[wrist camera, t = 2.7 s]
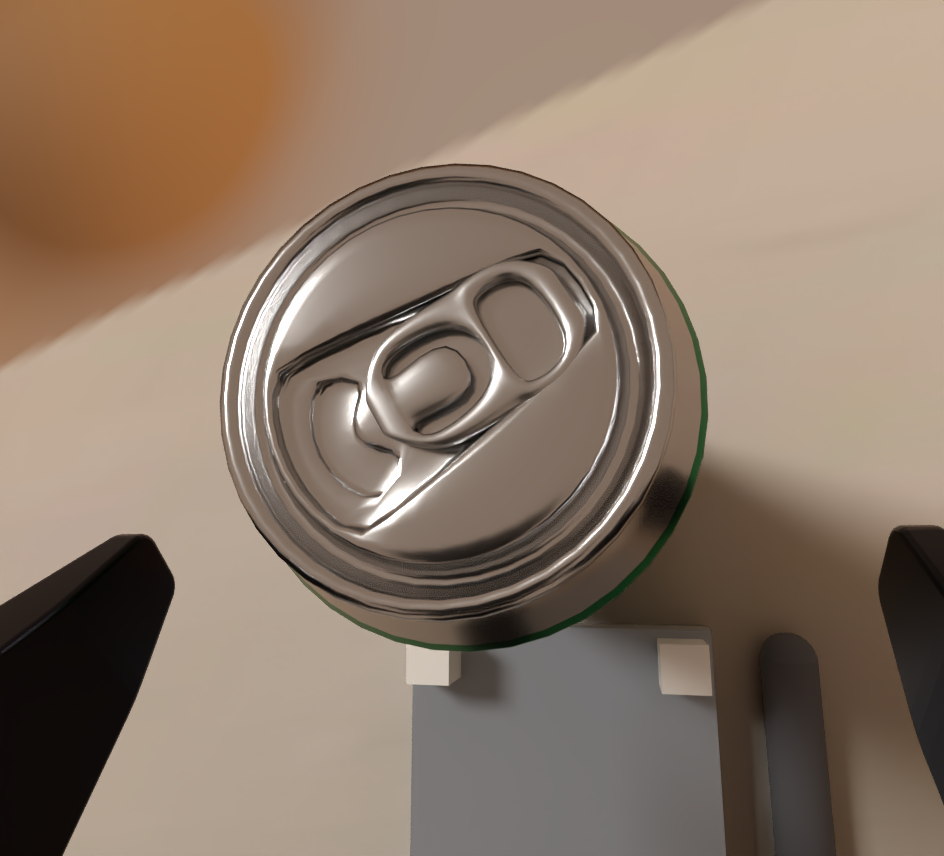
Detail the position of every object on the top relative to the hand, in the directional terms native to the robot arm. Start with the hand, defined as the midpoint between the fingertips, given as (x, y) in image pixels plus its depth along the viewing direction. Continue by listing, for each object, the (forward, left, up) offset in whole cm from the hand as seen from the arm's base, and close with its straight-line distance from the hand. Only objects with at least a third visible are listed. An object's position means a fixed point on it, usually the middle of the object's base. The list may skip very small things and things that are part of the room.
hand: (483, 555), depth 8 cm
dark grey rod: (-7, +1, -10) cm, 12 cm away
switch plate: (-3, +4, -9) cm, 11 cm away
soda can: (+1, -1, -10) cm, 10 cm away
